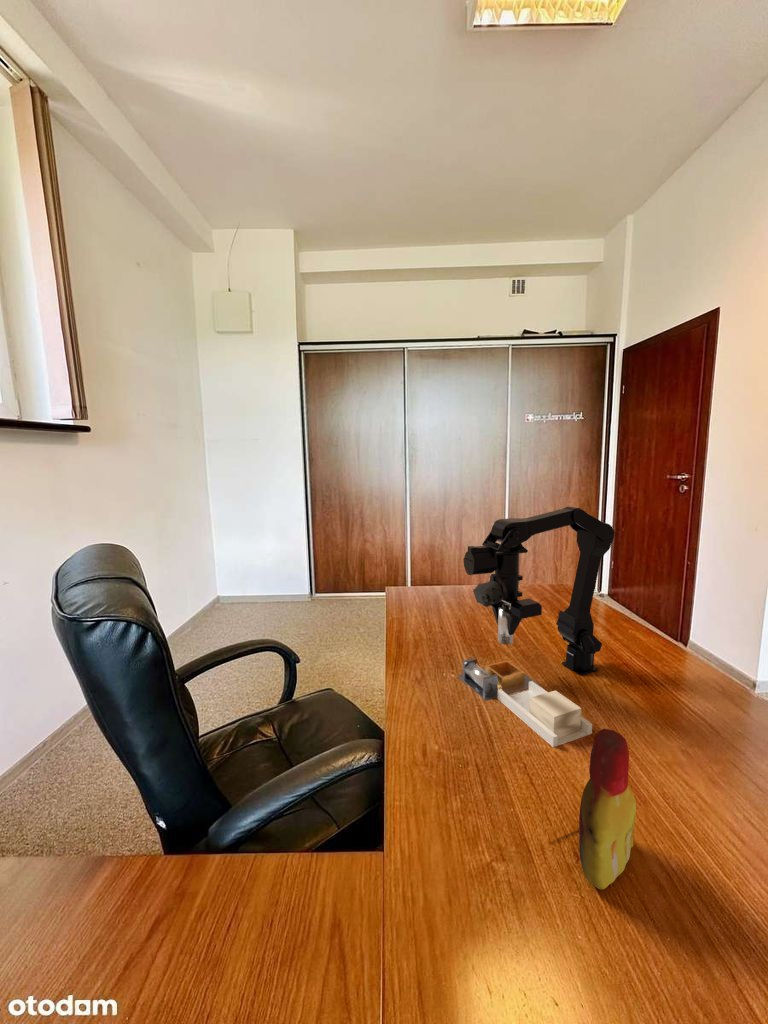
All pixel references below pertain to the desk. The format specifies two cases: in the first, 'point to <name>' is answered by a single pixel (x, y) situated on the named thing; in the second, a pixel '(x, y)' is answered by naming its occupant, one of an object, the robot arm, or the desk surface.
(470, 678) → the grey metal holder
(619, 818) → the bottle
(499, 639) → the capped metal canister
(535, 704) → the pale wooden block
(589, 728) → the bay
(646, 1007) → the desk surface
